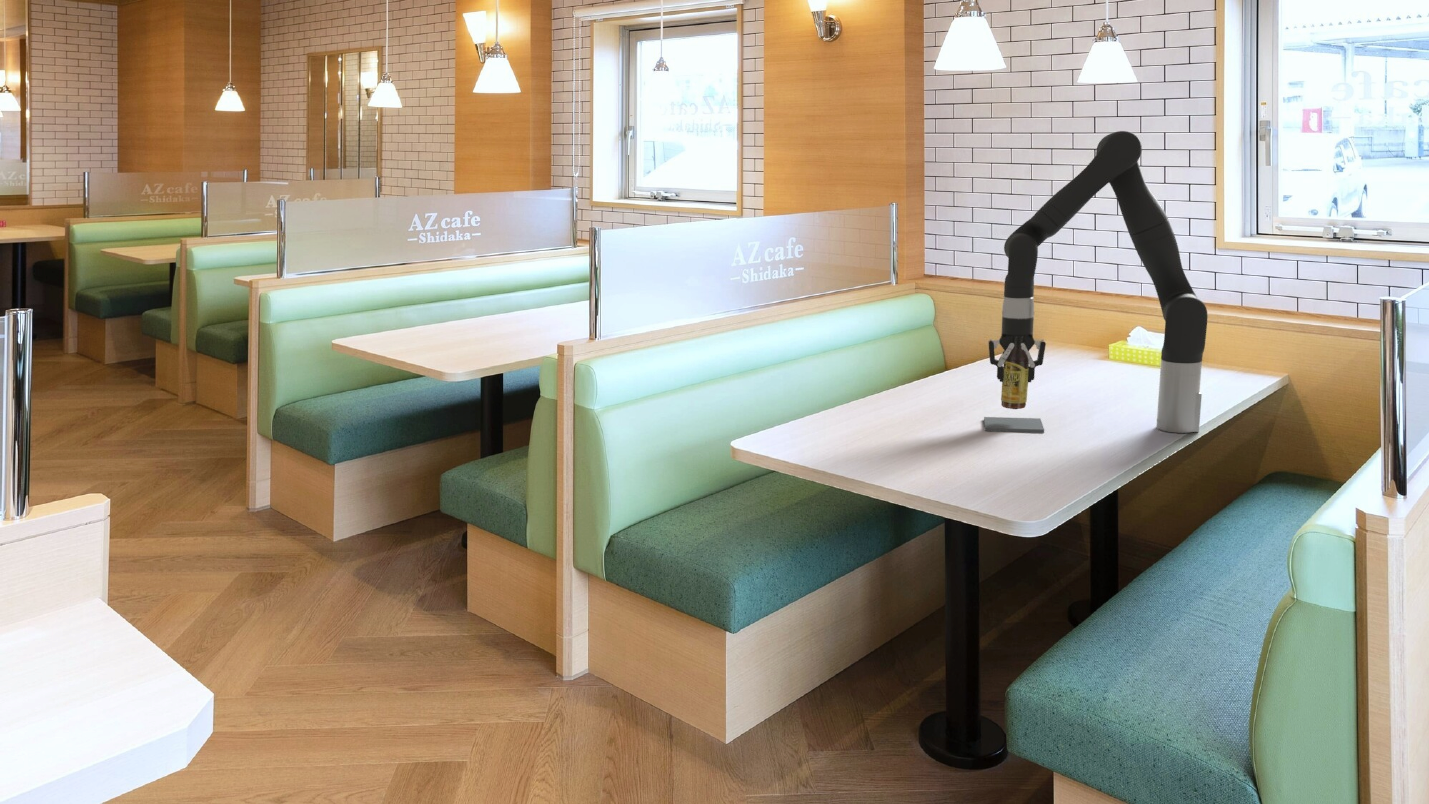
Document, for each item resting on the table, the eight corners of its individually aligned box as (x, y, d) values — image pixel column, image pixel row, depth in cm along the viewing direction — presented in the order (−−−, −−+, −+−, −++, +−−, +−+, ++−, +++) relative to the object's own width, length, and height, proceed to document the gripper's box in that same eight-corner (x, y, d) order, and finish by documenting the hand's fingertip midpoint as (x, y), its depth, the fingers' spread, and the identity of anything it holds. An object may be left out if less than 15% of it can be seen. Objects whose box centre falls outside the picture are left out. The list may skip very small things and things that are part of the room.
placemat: (1040, 421, 280) (1040, 418, 280) (1044, 432, 269) (1044, 429, 269) (984, 419, 283) (984, 416, 283) (985, 431, 272) (985, 427, 272)
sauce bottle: (995, 407, 276) (998, 329, 271) (1011, 403, 279) (1014, 326, 275) (1017, 411, 271) (1019, 331, 266) (1032, 407, 274) (1036, 329, 270)
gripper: (1047, 313, 272) (1043, 379, 276) (987, 312, 275) (985, 378, 279) (1049, 317, 265) (1046, 385, 268) (988, 316, 268) (986, 383, 271)
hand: (1015, 381), depth 274 cm, fingers closed on sauce bottle, 6 cm apart
